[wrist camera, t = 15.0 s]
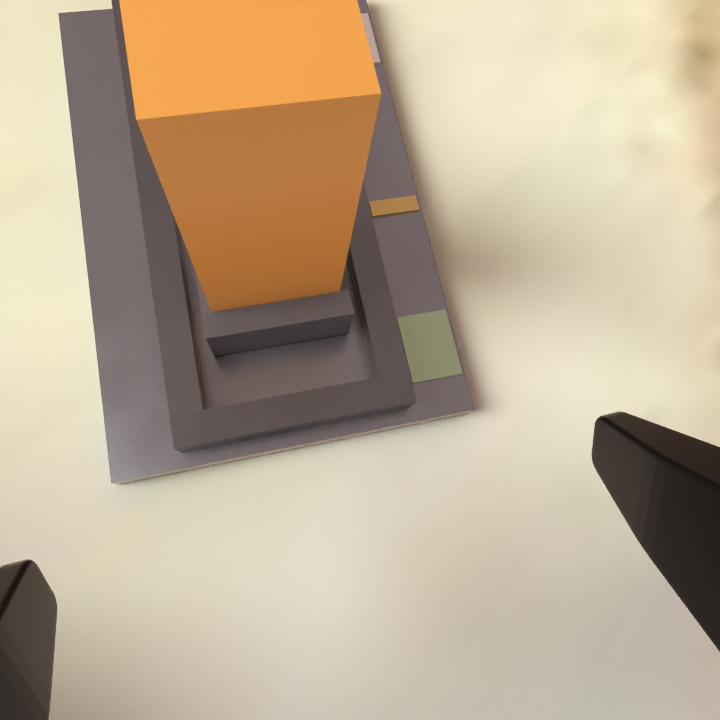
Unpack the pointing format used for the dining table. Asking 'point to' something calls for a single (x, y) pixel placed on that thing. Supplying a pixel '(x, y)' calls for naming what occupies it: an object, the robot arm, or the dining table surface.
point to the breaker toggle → (258, 153)
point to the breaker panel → (183, 312)
